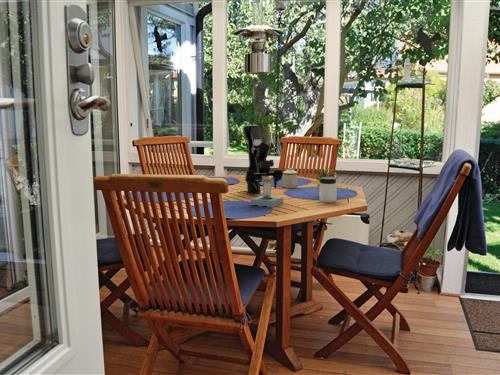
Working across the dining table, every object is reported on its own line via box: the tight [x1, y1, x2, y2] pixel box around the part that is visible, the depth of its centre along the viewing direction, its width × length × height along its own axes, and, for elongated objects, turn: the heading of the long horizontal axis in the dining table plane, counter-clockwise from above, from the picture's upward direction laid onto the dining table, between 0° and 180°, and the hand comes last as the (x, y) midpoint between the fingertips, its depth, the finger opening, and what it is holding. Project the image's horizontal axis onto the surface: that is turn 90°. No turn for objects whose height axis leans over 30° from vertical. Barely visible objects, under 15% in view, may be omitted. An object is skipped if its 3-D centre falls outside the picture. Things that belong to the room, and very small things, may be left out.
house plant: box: [314, 166, 338, 194], centre depth 259 cm, size 14×14×16 cm
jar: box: [318, 176, 338, 203], centre depth 245 cm, size 9×8×12 cm
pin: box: [262, 176, 274, 200], centre depth 239 cm, size 6×6×14 cm
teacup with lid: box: [278, 167, 298, 189], centre depth 290 cm, size 12×9×12 cm
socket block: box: [250, 195, 284, 208], centre depth 239 cm, size 12×12×3 cm
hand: (266, 188), depth 239 cm, fingers open, 9 cm apart
